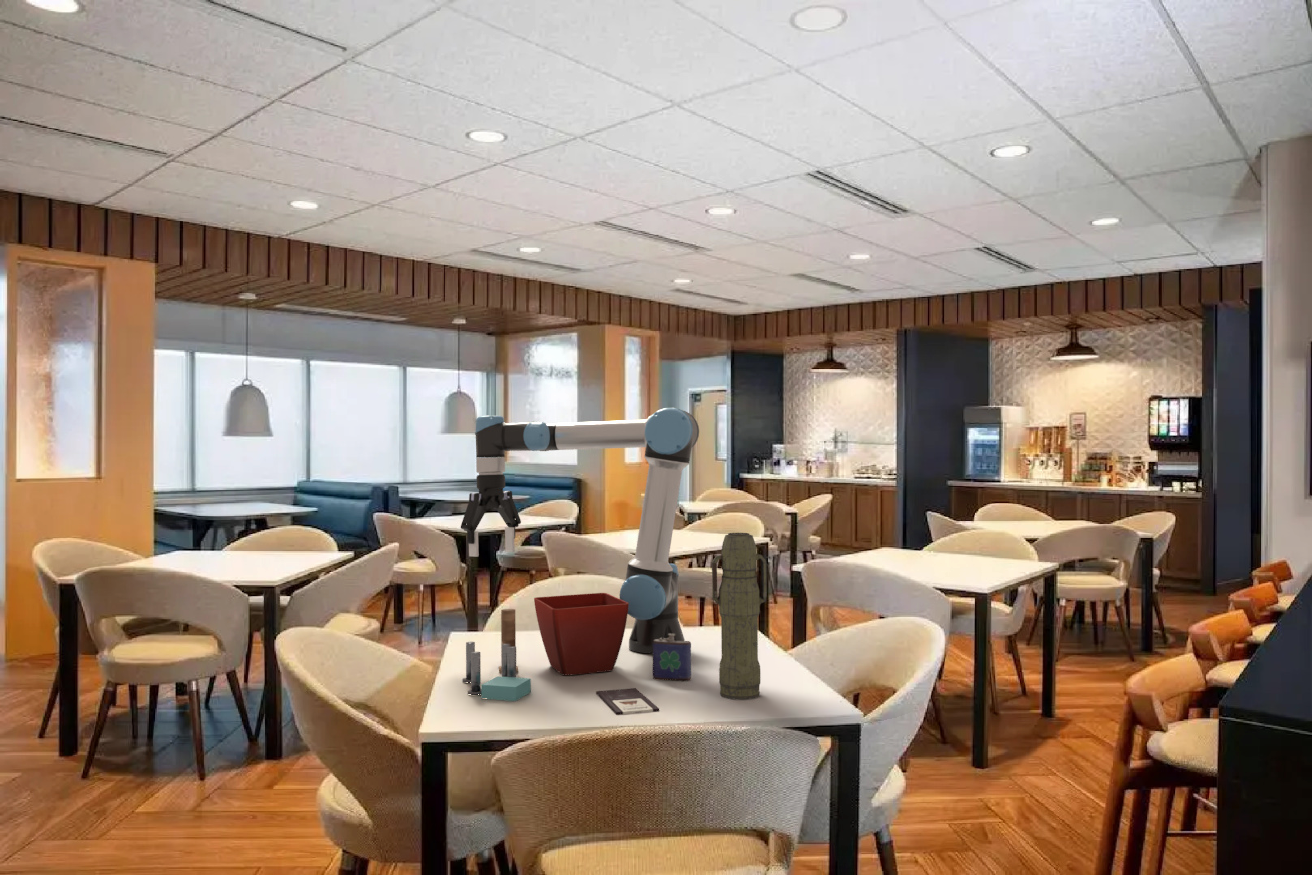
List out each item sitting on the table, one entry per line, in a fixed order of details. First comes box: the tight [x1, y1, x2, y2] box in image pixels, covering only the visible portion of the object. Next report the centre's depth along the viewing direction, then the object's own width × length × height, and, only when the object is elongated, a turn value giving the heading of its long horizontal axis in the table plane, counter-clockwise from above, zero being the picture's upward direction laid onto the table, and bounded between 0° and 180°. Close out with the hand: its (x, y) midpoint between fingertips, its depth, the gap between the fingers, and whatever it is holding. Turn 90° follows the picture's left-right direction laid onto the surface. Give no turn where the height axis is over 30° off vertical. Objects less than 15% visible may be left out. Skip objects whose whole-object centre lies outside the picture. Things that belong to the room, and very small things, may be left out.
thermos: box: [711, 532, 768, 701], centre depth 207 cm, size 9×12×35 cm
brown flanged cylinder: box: [498, 608, 519, 675], centre depth 229 cm, size 5×5×15 cm
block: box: [480, 675, 532, 702], centre depth 207 cm, size 8×8×3 cm
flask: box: [652, 633, 692, 682], centre depth 221 cm, size 9×3×11 cm, turn 74°
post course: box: [462, 641, 517, 696], centre depth 213 cm, size 15×14×9 cm
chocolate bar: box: [595, 687, 660, 716], centre depth 201 cm, size 9×1×18 cm
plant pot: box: [533, 592, 629, 676], centre depth 232 cm, size 19×19×17 cm
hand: (492, 553), depth 252 cm, fingers open, 13 cm apart
